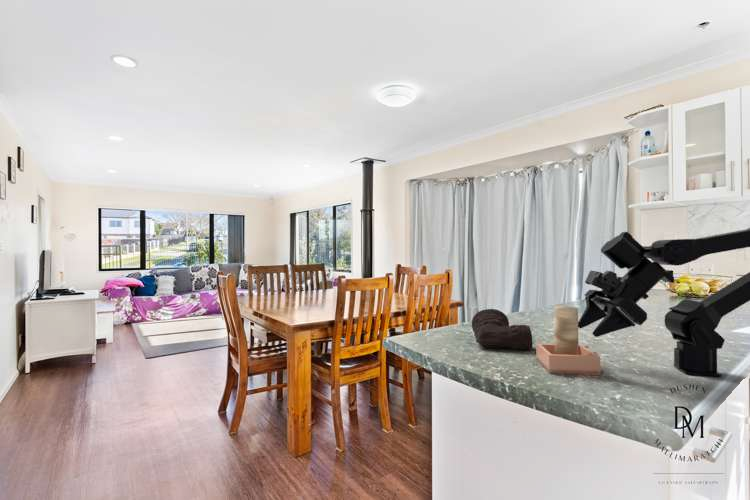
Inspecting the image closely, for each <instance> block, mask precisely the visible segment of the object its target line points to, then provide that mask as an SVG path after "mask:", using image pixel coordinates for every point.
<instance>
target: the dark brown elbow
mask: <svg viewBox="0 0 750 500" xmlns="http://www.w3.org/2000/svg"><path fill="white" fill-rule="evenodd" d="M471 329H472V331H473V334H474V338H475V342H476V343H478V344H479V346H481V347H482V348H490V349H491V348H493V349H494V348H495V349H496V348H509V349H512V350H518V351H522V350H523V351H525V350H526V351H527V350H530V349H532V348H533V344H534V343H533V334H532V330H531V327H530V325H527V324H513V325H510V322H509V319H508V317H507V315H506V314H505V313H504V312H502V310H498V309H495V308H487V309H482V310H480V311H478V312H476V313H475V315H473V317H472V320H471Z"/></svg>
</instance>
